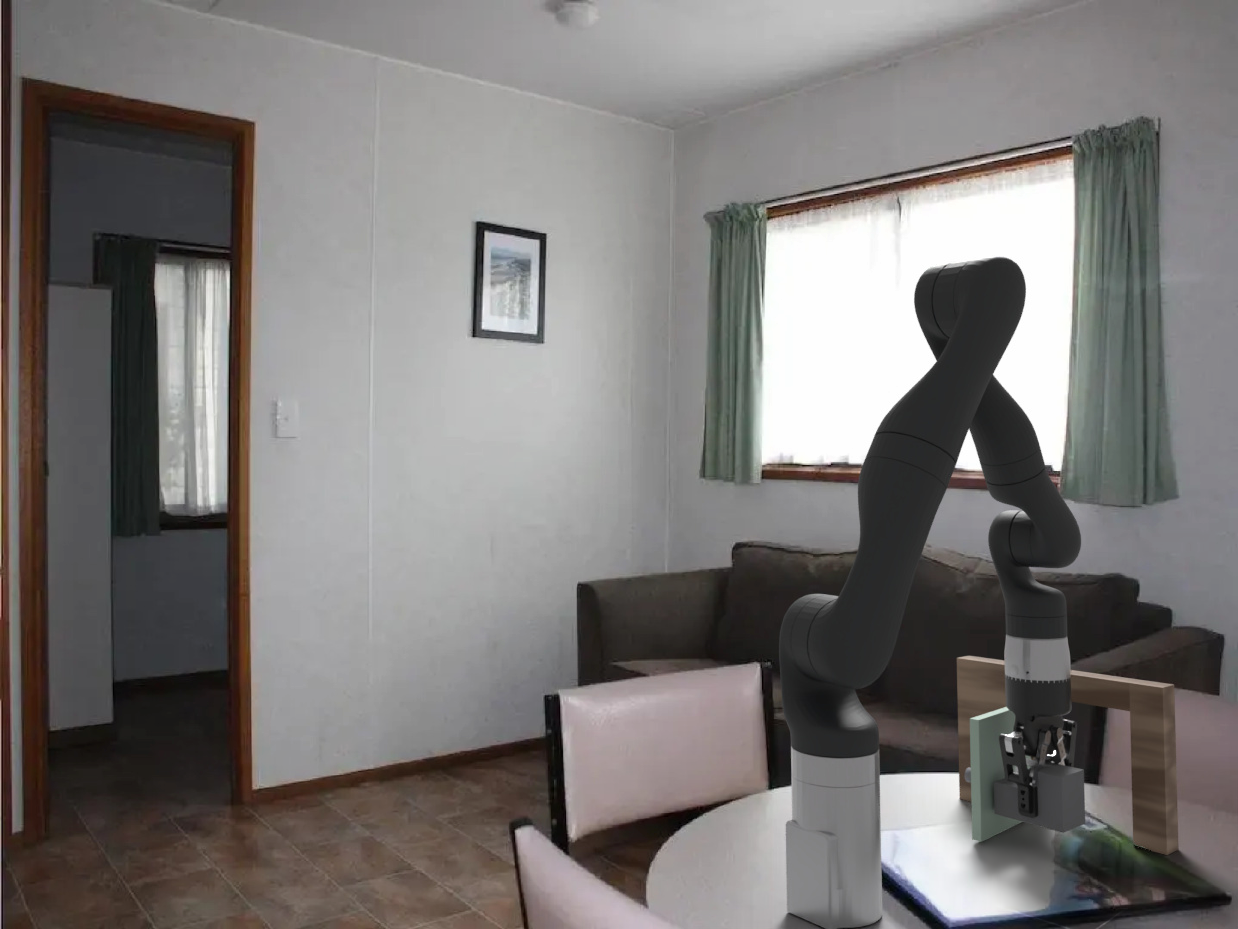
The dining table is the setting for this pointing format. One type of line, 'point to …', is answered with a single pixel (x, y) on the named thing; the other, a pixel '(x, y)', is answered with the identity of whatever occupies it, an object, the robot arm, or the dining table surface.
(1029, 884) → the dining table surface
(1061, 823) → the grey stepped block
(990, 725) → the door
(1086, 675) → the wall frame
